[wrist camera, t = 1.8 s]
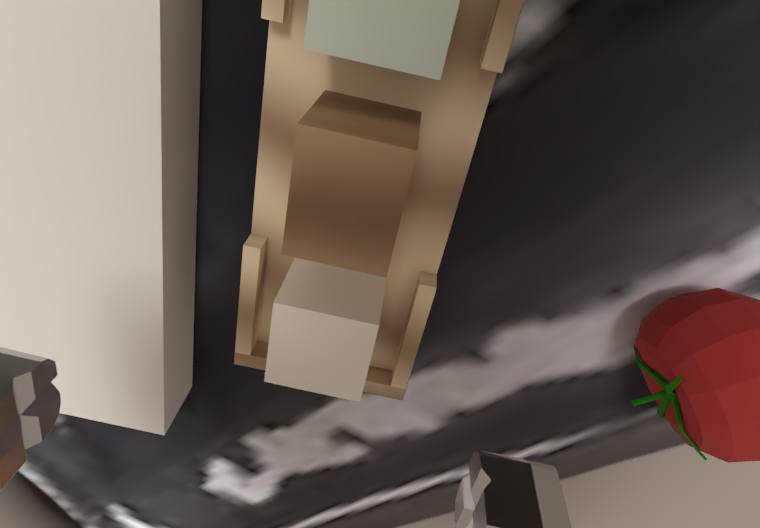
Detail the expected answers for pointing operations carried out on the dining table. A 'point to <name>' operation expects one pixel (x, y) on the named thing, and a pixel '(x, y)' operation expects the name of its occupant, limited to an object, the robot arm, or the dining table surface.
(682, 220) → the dining table surface
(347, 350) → the block
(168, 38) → the dock
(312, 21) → the block
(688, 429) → the tomato
